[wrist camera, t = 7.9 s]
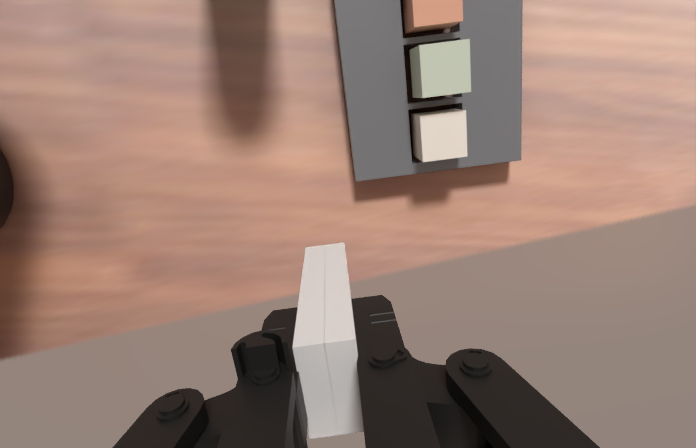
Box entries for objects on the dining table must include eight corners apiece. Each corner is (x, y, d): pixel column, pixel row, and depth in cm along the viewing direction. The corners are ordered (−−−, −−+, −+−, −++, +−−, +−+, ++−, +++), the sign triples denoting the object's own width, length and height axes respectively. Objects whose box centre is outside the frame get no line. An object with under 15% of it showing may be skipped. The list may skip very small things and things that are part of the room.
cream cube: (413, 155, 40) (422, 162, 37) (410, 113, 39) (419, 116, 35) (455, 150, 40) (468, 156, 37) (453, 108, 39) (467, 109, 35)
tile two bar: (412, 97, 37) (422, 98, 33) (409, 50, 36) (419, 45, 32) (457, 91, 37) (472, 91, 34) (456, 44, 36) (471, 38, 32)
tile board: (354, 176, 42) (356, 181, 39) (330, -24, 36) (330, -32, 34) (510, 156, 42) (521, 160, 40) (510, -47, 36) (522, -56, 34)
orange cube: (405, 33, 37) (414, 27, 33) (401, -17, 36) (410, -30, 32) (450, 28, 37) (464, 20, 33) (448, -22, 36) (463, -36, 32)
